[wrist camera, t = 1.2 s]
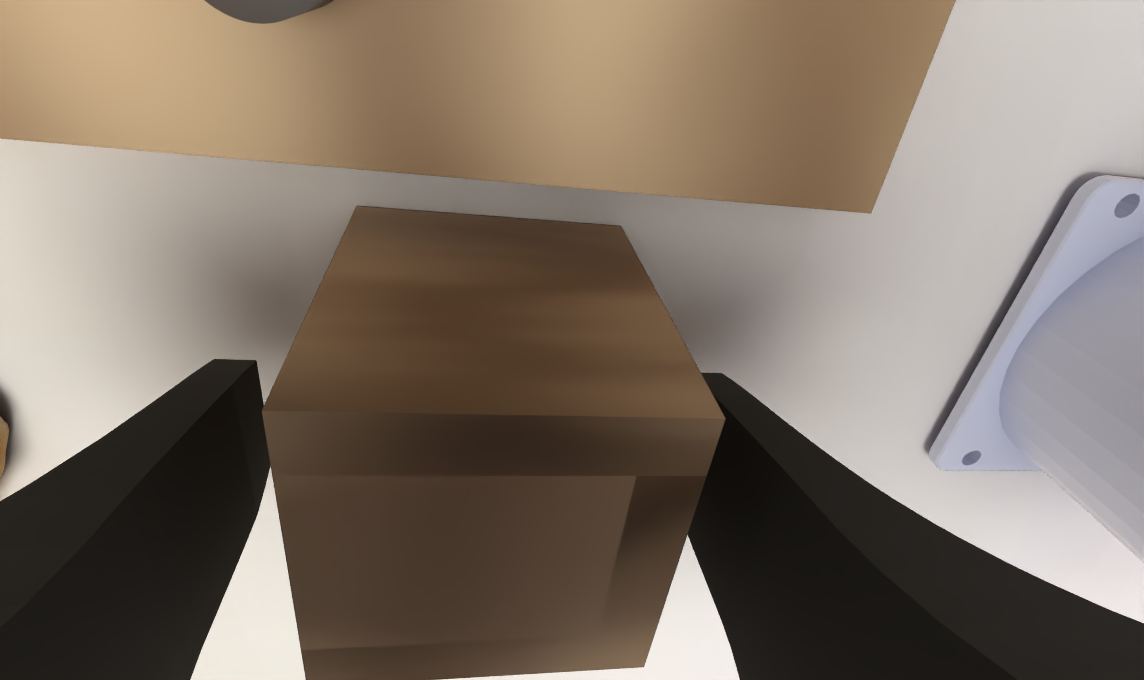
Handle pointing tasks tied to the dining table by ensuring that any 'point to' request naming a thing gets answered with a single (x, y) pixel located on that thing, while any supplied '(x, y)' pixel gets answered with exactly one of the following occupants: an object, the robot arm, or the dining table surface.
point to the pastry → (3, 443)
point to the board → (490, 88)
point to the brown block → (484, 450)
